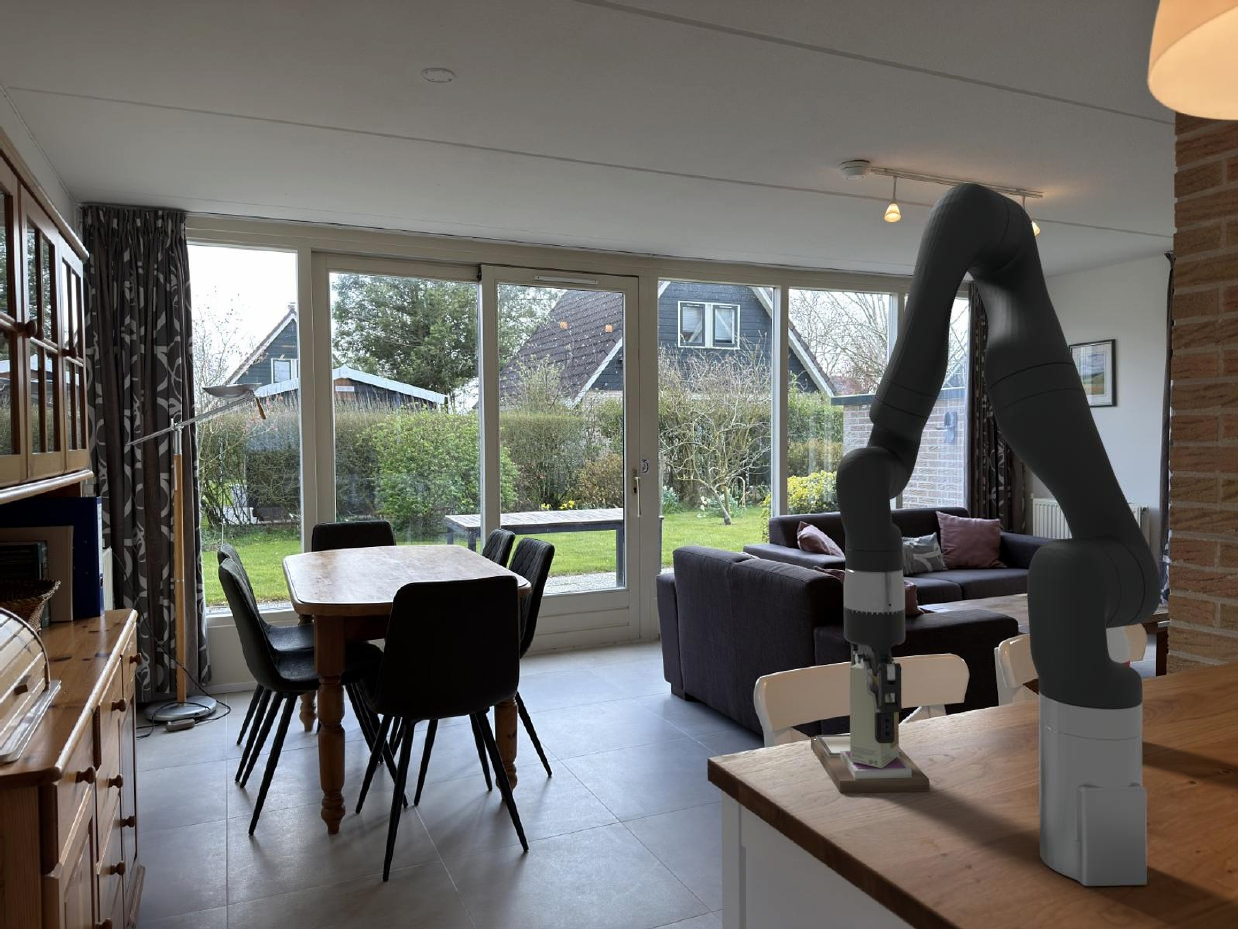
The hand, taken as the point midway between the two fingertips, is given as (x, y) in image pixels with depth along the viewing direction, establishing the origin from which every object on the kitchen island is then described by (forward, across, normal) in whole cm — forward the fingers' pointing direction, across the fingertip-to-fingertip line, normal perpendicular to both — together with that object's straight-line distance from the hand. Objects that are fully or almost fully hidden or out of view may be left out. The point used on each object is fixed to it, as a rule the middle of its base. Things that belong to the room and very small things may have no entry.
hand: (875, 731), depth 111 cm
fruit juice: (+6, +13, -35) cm, 38 cm away
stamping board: (+6, +4, 0) cm, 7 cm away
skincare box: (+4, 0, 0) cm, 4 cm away
